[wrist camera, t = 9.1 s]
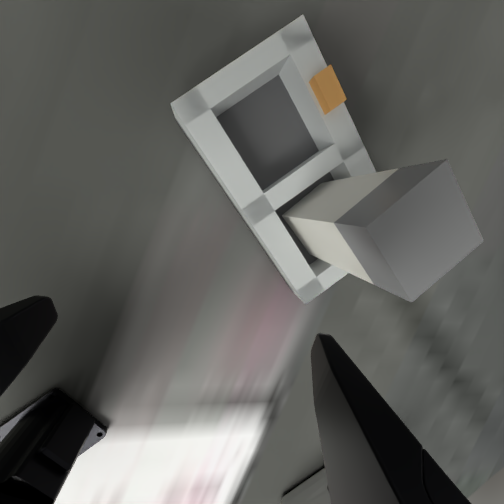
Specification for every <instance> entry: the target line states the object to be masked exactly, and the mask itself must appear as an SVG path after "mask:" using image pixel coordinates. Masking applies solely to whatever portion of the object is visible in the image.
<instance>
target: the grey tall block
mask: <svg viewBox="0 0 504 504" xmlns="http://www.w3.org/2000/svg"><path fill="white" fill-rule="evenodd" d="M282 217H283V218H284V220H285V221H286V222H287V224H288V225H289V226H290V228H291V229H292V231H293V232H294V233H295V235H296V236H297V237H298V239H299V240H300V242H301V243H302V244H303V246H304V247H305V248H306V250H307V251H308V253H309V254H310V255H312V256H315V257H317V258H319V259H321V260H323V261H325V262H327V263H329V264H331V265H334V266H336V267H338V268H340V269H342V270H344V271H346V272H348V273H350V274H353V275H355V276H357V277H359V278H361V279H363V280H365V281H367V282H369V283H372V284H374V285H376V286H378V287H380V288H382V289H384V290H386V291H388V292H391V293H393V294H395V295H397V296H399V297H401V298H403V299H405V300H407V301H410V302H413V301H414V300H415V299H416V298H417V297H419V296H420V295H421V294H422V293H423V292H425V291H426V290H427V289H428V288H429V287H430V286H432V285H433V284H434V283H435V282H436V281H437V280H439V279H440V278H441V277H442V276H443V275H444V274H446V273H447V272H448V271H449V270H450V269H451V268H453V267H454V266H455V265H456V264H457V263H459V262H460V261H461V260H462V259H463V258H464V257H466V256H467V255H468V254H469V253H470V252H471V251H473V250H474V249H475V248H476V247H477V246H478V245H480V244H481V243H482V242H483V241H484V240H483V238H482V236H481V234H480V231H479V229H478V227H477V225H476V222H475V220H474V218H473V216H472V213H471V211H470V209H469V207H468V204H467V202H466V200H465V198H464V195H463V193H462V191H461V189H460V186H459V184H458V182H457V180H456V177H455V175H454V173H453V170H452V168H451V166H450V164H449V161H448V159H445V160H440V161H434V162H429V163H424V164H419V165H413V166H408V167H403V168H397V169H392V170H387V171H381V172H376V173H371V174H366V175H360V176H355V177H350V178H344V179H339V180H334V181H328V182H323V183H321V184H319V185H318V186H317V187H316V188H314V189H313V190H312V191H311V192H310V193H308V194H307V195H306V196H305V197H304V198H302V199H301V200H300V201H299V202H298V203H296V204H295V205H294V206H293V207H291V208H290V209H289V210H288V211H287V212H285V213H284V214H283V215H282Z"/></svg>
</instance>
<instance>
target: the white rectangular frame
mask: <svg viewBox="0 0 504 504" xmlns="http://www.w3.org/2000/svg"><path fill="white" fill-rule="evenodd" d="M345 100H347V98H346V96H345V94H344V92H343V90H342V88H341V85H340V83H339V81H338V79H337V77H336V74H335V72H334V70H333V68H332V66H331V65H329V66H328V67H327V65H326V63H325V60H324V58H323V56H322V54H321V52H320V50H319V47H318V45H317V43H316V41H315V39H314V37H313V35H312V32H311V30H310V28H309V26H308V24H307V22H306V19H305V17H304V15H301V16H300V17H298V18H297V19H295V20H294V21H292V22H291V23H289V24H288V25H286V26H285V27H283V28H282V29H280V30H279V31H277V32H276V33H274V34H273V35H271V36H270V37H268V38H267V39H266V40H264V41H263V42H261V43H260V44H258V45H257V46H255V47H254V48H252V49H251V50H249V51H248V52H246V53H245V54H243V55H242V56H240V57H239V58H237V59H236V60H234V61H233V62H231V63H230V64H228V65H227V66H225V67H224V68H222V69H221V70H219V71H218V72H216V73H215V74H213V75H212V76H210V77H209V78H207V79H206V80H204V81H203V82H201V83H200V84H199V85H197V86H196V87H194V88H193V89H191V90H190V91H188V92H187V93H185V94H184V95H182V96H181V97H179V98H178V99H176V100H175V101H173V102H172V103H170V104H171V107H172V110H173V113H174V116H175V119H176V122H177V123H178V125H179V126H180V128H181V129H182V131H183V132H184V134H185V135H186V137H187V138H188V140H189V141H190V142H191V144H192V145H193V147H194V148H195V150H196V151H197V153H198V154H199V156H200V157H201V159H202V160H203V162H204V163H205V164H206V166H207V167H208V169H209V170H210V172H211V173H212V175H213V176H214V178H215V179H216V181H217V182H218V184H219V185H220V187H221V188H222V189H223V191H224V192H225V194H226V195H227V197H228V198H229V200H230V201H231V203H232V204H233V206H234V207H235V209H236V210H237V211H238V213H239V214H240V216H241V217H242V219H243V220H244V222H245V223H246V225H247V226H248V228H249V229H250V231H251V232H252V233H253V235H254V236H255V238H256V239H257V241H258V242H259V244H260V245H261V247H262V248H263V250H264V251H265V253H266V254H267V255H268V257H269V258H270V260H271V261H272V263H273V264H274V266H275V267H276V269H277V270H278V272H279V273H280V275H281V276H282V278H283V279H284V280H285V282H286V283H287V285H288V286H289V288H290V289H291V290H292V291H293V292H294V293H295V294H296V295H297V296H298V297H299V298H300V299H301V300H302V301H303V302H304V303H305V304H307V303H309V302H310V301H311V300H313V299H314V298H315V297H317V296H318V295H319V294H321V293H322V292H323V291H325V290H326V289H327V288H329V287H330V286H332V285H333V284H334V283H336V282H337V281H338V280H340V279H341V278H342V277H344V276H345V275H346V274H348V272H346V271H344V270H342V269H340V268H338V267H336V266H334V265H331V264H329V263H327V262H325V261H323V260H321V259H319V258H317V257H315V256H312V255H310V254H309V253H308V251H307V250H306V248H305V247H304V246H303V244H302V243H301V242H300V240H299V239H298V237H297V236H296V235H295V233H294V232H293V231H292V229H291V228H290V226H289V225H288V224H287V222H286V221H285V220H284V218H283V217H282V215H283V214H284V213H285V212H287V211H288V210H289V209H290V208H291V207H293V206H294V205H295V204H296V203H298V202H299V201H300V200H301V199H302V198H304V197H305V196H306V195H307V194H308V193H310V192H311V191H312V190H313V189H314V188H316V187H317V186H318V185H319V184H321V183H323V182H328V181H334V180H339V179H344V178H350V177H355V176H360V175H366V174H371V173H376V170H375V168H374V166H373V164H372V162H371V160H370V157H369V155H368V153H367V151H366V149H365V147H364V144H363V142H362V140H361V138H360V136H359V134H358V132H357V129H356V127H355V125H354V123H353V121H352V119H351V116H350V114H349V112H348V110H347V108H346V106H345V103H344V101H345Z"/></svg>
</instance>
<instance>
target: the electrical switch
mask: <svg viewBox="0 0 504 504" xmlns="http://www.w3.org/2000/svg"><path fill="white" fill-rule="evenodd" d="M281 504H331V500H330V495H329V489H328V483H327V477H326V471H325V468H323V469H322V470H321V471H319V472H318V473H316V474H315V475H313V476H312V477H311V478H309V479H308V480H306V481H305V482H303V483H302V484H301V485H299V486H298V487H296V488H295V489H293V490H292V491H290V492H289V493H288V494H286V495H285V496H283V497H282V499H281Z"/></svg>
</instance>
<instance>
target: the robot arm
mask: <svg viewBox="0 0 504 504" xmlns="http://www.w3.org/2000/svg"><path fill="white" fill-rule="evenodd" d="M57 317H58V315H57V312H56V309H55V307H54V304H53V301H52V299H51V298H50V297H46V296H32V297H29V298H27V299H24V300H21V301H19V302H16V303H13V304H11V305H8V306H5V307H3V308H0V396H1V395H2V394H3V393H4V392H5V390H6V389H7V388H8V387H9V386H10V384H11V383H12V382H13V381H14V379H15V378H16V377H17V376H18V375H19V373H20V372H21V371H22V370H23V368H24V367H25V366H26V364H27V363H28V362H29V360H30V359H31V357H32V356H33V355H34V353H35V352H36V350H37V349H38V347H39V346H40V344H41V343H42V342H43V340H44V339H45V337H46V336H47V334H48V333H49V331H50V330H51V328H52V327H53V326H54V324H55V323H56V321H57ZM311 365H312V380H313V395H314V406H315V413H316V418H317V424H318V430H319V436H320V442H321V448H322V454H323V459H324V465H325V471H326V477H327V483H328V489H329V495H330V500H331V504H471V503H470V502H469V500H468V499H467V498H466V497H465V496H464V495H463V494H462V493H461V491H460V490H459V489H458V488H457V487H456V486H455V484H454V483H453V482H452V481H451V480H450V478H449V477H448V476H447V475H446V474H445V473H444V471H443V470H442V469H441V468H440V467H439V465H438V464H437V463H436V462H435V461H434V459H433V458H432V457H431V456H430V455H429V453H428V452H427V451H426V450H425V449H423V447H422V445H421V444H420V443H419V441H418V440H417V439H416V438H415V437H414V435H413V434H412V433H411V432H410V430H409V429H408V428H407V427H406V426H405V424H404V423H403V422H402V421H401V420H400V418H399V417H398V416H397V415H396V413H395V412H394V411H393V410H392V409H391V407H390V406H389V405H388V404H387V403H386V401H385V400H384V399H383V398H382V396H381V395H380V394H379V393H378V392H377V390H376V389H375V388H374V387H373V386H372V384H371V383H370V382H369V381H368V379H367V378H366V377H365V376H364V375H363V373H362V372H361V371H360V370H359V369H358V367H357V366H356V365H355V364H354V363H353V361H352V360H351V359H350V358H349V356H348V355H347V354H346V353H345V352H344V350H343V349H342V348H341V347H340V346H339V344H338V343H337V342H336V341H335V339H334V338H333V337H332V336H331V335H329V334H323V333H318V334H317V335H316V338H315V341H314V344H313V346H312V349H311ZM53 395H55V396H53ZM100 432H101V433H100ZM106 433H107V428H106V427H105V426H104V425H103V424H102V423H100V422H99V421H98V420H97V419H95V418H94V417H93V416H92V415H90V414H89V413H88V412H87V411H86V410H84V409H83V408H82V407H81V406H79V405H78V404H77V403H76V402H74V401H73V400H72V399H71V398H70V397H68V396H67V395H66V394H65V393H63V392H62V391H61V390H59V389H56V388H55V389H52V390H50V391H49V392H47V393H46V394H44V395H43V396H42V397H40V398H39V399H37V400H36V401H35V402H33V403H32V404H30V405H29V406H28V407H26V408H25V409H24V410H22V411H21V412H19V413H18V414H17V415H15V416H14V417H12V418H11V419H10V420H8V421H7V422H5V423H4V424H3V425H1V426H0V504H54V502H55V500H56V498H57V496H58V494H59V492H60V490H61V488H62V486H63V484H64V482H65V480H66V479H67V477H68V475H69V473H70V471H71V469H72V467H73V465H74V463H75V461H76V459H77V457H78V456H79V455H81V454H82V453H84V452H85V451H86V450H88V449H89V448H90V447H92V446H93V445H94V444H96V443H97V442H98V441H100V440H101V439H103V438H104V437H105V435H106Z"/></svg>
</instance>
